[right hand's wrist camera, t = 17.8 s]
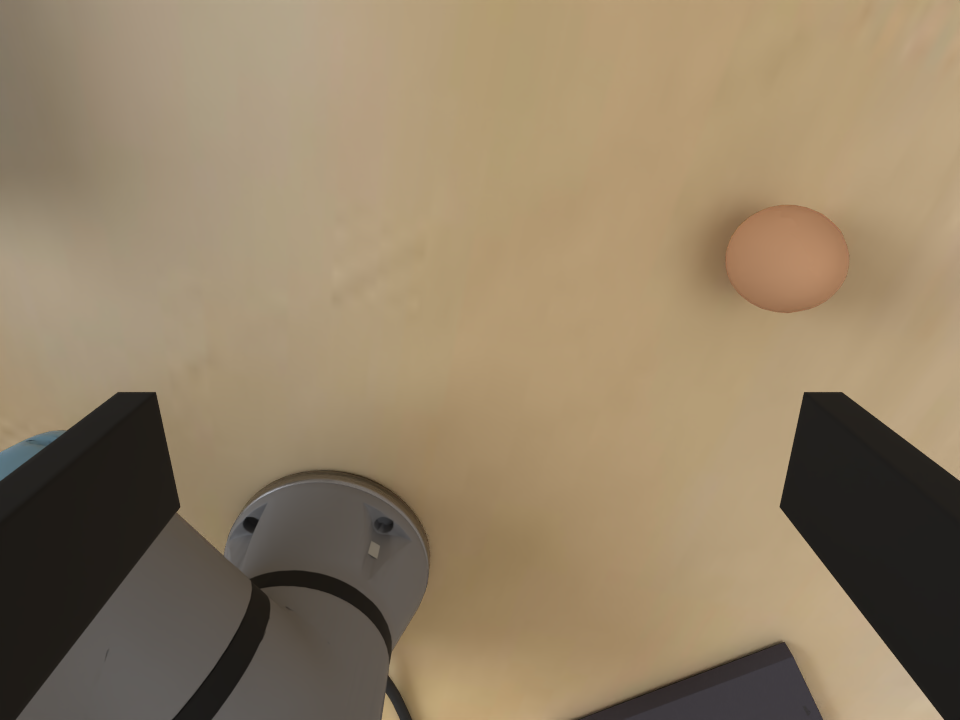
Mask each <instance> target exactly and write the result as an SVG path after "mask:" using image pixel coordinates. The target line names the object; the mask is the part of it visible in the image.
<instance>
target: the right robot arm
mask: <svg viewBox="0 0 960 720" xmlns="http://www.w3.org/2000/svg"><path fill="white" fill-rule="evenodd" d="M179 508H180V503H179V498H178V494H177V489H176V484H175V480H174V475H173V470H172V466H171V461H170V456H169V451H168V447H167V442H166V437H165V433H164V428H163V423H162V419H161V414H160V409H159V405H158V400H157V395H156V392H118V393H116V394H115V395H114V396H112V397H111V398H110V399H108V400H107V401H106V402H104V403H103V404H102V405H100V406H99V407H98V408H96V409H95V410H94V411H92V412H91V413H90V414H89V415H87V416H86V417H85V418H83V419H82V420H81V421H79V422H78V423H77V424H75V425H74V426H73V427H71V428H70V429H69V430H67V431H50V432H46V433H42V434H39V435H36V436H33V437H31V438H28V439H26V440H24V441H22V442H20V443H18V444H16V445H14V446H12V447H10V448H8V449H6V450H4V451H2V452H0V720H381V719H382V712H383V705H384V699H385V692H386V694H387V695H388V697H389V698H390V700H391V702H392V703H393V705H394V707H395V710H396V712H397V714H398V716H399V718H400V720H412V719H411V717H410V714H409V712H408V710H407V708H406V705H405V703H404V701H403V699H402V697H401V695H400V693H399V691H398V689H397V688H396V686H395V685H394V683H393V682H392V680H391V679H390V677H389V676H388V671H389V664H390V658H391V653H392V650H393V649H394V647H395V645H396V644H397V642H398V640H399V639H400V637H401V635H402V634H403V632H404V631H405V629H406V627H407V626H408V624H409V622H410V621H411V619H412V617H413V616H414V614H415V612H416V611H417V609H418V607H419V605H420V603H421V600H422V598H423V595H424V593H425V590H426V587H427V582H428V575H429V566H430V550H429V544H428V540H427V537H426V534H425V531H424V529H423V527H422V525H421V523H420V521H419V520H418V518H417V517H416V515H415V514H414V513H413V511H412V510H411V509H410V508H409V507H408V506H407V505H406V503H405V502H403V501H402V500H401V499H400V498H399V497H398V496H396V495H395V494H394V493H392V492H391V491H390V490H388V489H386V488H385V487H383V486H381V485H379V484H377V483H375V482H373V481H371V480H368V479H366V478H363V477H360V476H357V475H353V474H348V473H344V472H336V471H309V472H302V473H297V474H293V475H290V476H287V477H283V478H281V479H279V480H277V481H274V482H273V483H271V484H269V485H267V486H266V487H264V488H263V489H261V490H260V491H259V492H258V493H256V494H255V495H254V496H253V497H252V498H251V499H250V500H249V501H248V503H247V504H246V505H245V507H244V508H243V510H242V511H241V513H240V514H239V516H238V518H237V519H236V521H235V523H234V525H233V527H232V528H231V531H230V533H229V536H228V540H227V543H226V547H225V551H224V556H223V555H222V554H221V553H220V552H219V551H218V550H217V549H216V548H215V547H213V546H212V545H211V544H210V543H209V542H208V541H207V540H206V539H205V538H204V537H203V536H201V535H200V534H199V533H198V532H197V531H196V530H195V529H194V528H193V527H192V526H191V525H190V524H188V523H187V522H186V521H185V520H184V519H183V518H182V517H181V516H180V515H179V514H178V513H176V512H177V511H178V509H179ZM780 508H781V509H782V511H783V512H784V513H785V515H786V516H787V517H788V518H789V520H790V521H791V522H792V524H793V525H794V526H795V527H796V529H797V530H798V531H799V533H800V534H801V535H802V537H803V538H804V539H805V540H806V542H807V543H808V544H809V546H810V547H811V548H812V549H813V551H814V552H815V553H816V555H817V556H818V557H819V558H820V560H821V561H822V562H823V564H824V565H825V566H826V568H827V569H828V570H829V571H830V573H831V574H832V575H833V577H834V578H835V579H836V580H837V582H838V583H839V584H840V586H841V587H842V588H843V590H844V591H845V592H846V593H847V595H848V596H849V597H850V599H851V600H852V601H853V602H854V604H855V605H856V606H857V608H858V609H859V610H860V611H861V613H862V614H863V615H864V617H865V618H866V619H867V621H868V622H869V623H870V624H871V626H872V627H873V628H874V630H875V631H876V632H877V633H878V635H879V636H880V637H881V639H882V640H883V641H884V643H885V644H886V645H887V646H888V648H889V649H890V650H891V652H892V653H893V654H894V655H895V657H896V658H897V659H898V661H899V662H900V663H901V664H902V666H903V667H904V668H905V670H906V671H907V672H908V674H909V675H910V676H911V677H912V679H913V680H914V681H915V683H916V684H917V685H918V686H919V688H920V689H921V690H922V692H923V693H924V694H925V696H926V697H927V698H928V699H929V701H930V702H931V703H932V705H933V706H934V707H935V708H936V710H937V711H938V712H939V714H940V715H941V716H942V717H943V719H944V720H960V481H959V480H958V479H956V478H955V477H954V476H952V475H951V474H950V473H948V472H947V471H946V470H945V469H943V468H942V467H941V466H939V465H938V464H937V463H935V462H934V461H933V460H931V459H930V458H929V457H927V456H926V455H925V454H923V453H922V452H921V451H919V450H918V449H917V448H915V447H914V446H913V445H911V444H910V443H909V442H907V441H906V440H905V439H903V438H902V437H901V436H899V435H898V434H897V433H895V432H894V431H893V430H891V429H890V428H889V427H887V426H886V425H885V424H883V423H882V422H881V421H879V420H878V419H877V418H875V417H874V416H873V415H871V414H870V413H869V412H868V411H866V410H865V409H864V408H862V407H861V406H860V405H858V404H857V403H856V402H854V401H853V400H852V399H850V398H849V397H848V396H846V395H845V394H844V393H842V392H804V395H803V400H802V405H801V409H800V414H799V419H798V423H797V428H796V433H795V437H794V442H793V447H792V451H791V456H790V461H789V466H788V470H787V475H786V480H785V484H784V489H783V494H782V498H781V503H780Z"/></svg>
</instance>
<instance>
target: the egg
mask: <svg viewBox="0 0 960 720" xmlns="http://www.w3.org/2000/svg"><path fill="white" fill-rule="evenodd" d="M848 268H849V252H848V248H847V245H846V242H845V240H844V237H843V235H842V233H841V231H840V230H839V229H838V228H837V226H836V225H835V224H834V223H833V222H832V221H830V220H829V219H828V218H827V217H825V216H824V215H823V214H821V213H819V212H816V211H814V210H811V209H809V208H806V207H801V206H797V205H780V206H774V207H769V208H766V209H764V210H762V211H759V212H757V213H755V214H754V215H752V216H750V217H749V218H748V219H746V220H745V221H744V222H743V223H742V224H741V225H740V226H739V227H738V228H737V229H736V231H735V232H734V234H733V235H732V237H731V239H730V242H729V244H728V247H727V251H726V270H727V274H728V277H729V279H730V282H731V283H732V285H733V286H734V288H735V289H736V291H737V292H738V293H739V294H740V295H741V296H742V297H744V298H745V299H746V300H748V301H749V302H750V303H752V304H754V305H756V306H758V307H760V308H762V309H766V310H770V311H774V312H782V313H791V312H797V311H803V310H807V309H810V308H813V307H816V306H818V305H820V304H822V303H823V302H825V301H827V300H828V299H829V298H830V297H831V296H833V295H834V294H835V293H836V292H837V290H838V289H839V288H840V287H841V285H842V283H843V282H844V280H845V278H846V276H847V272H848Z"/></svg>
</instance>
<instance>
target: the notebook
mask: <svg viewBox="0 0 960 720" xmlns="http://www.w3.org/2000/svg"><path fill="white" fill-rule="evenodd" d="M579 720H823V719H822V717H821V715H820V712H819V710H818V708H817V706H816V704H815V702H814V700H813V698H812V696H811V693H810V691H809V689H808V687H807V685H806V683H805V681H804V679H803V677H802V674H801V672H800V670H799V668H798V666H797V664H796V662H795V660H794V658H793V656H792V654H791V652H790V651H789V649H788V647H787V645H786V644H785V642H783V643H781V644H778V645H775V646H773V647H770V648H767V649H765V650H762V651H759V652H757V653H754V654H751V655H749V656H746V657H743V658H741V659H738V660H735V661H733V662H730V663H728V664H725V665H722V666H720V667H717V668H714V669H712V670H709V671H706V672H704V673H701V674H698V675H696V676H693V677H690V678H688V679H685V680H682V681H680V682H677V683H674V684H672V685H669V686H667V687H664V688H661V689H659V690H656V691H653V692H651V693H648V694H645V695H643V696H640V697H637V698H635V699H632V700H629V701H627V702H624V703H621V704H619V705H616V706H613V707H611V708H608V709H606V710H603V711H600V712H598V713H595V714H592V715H590V716H587V717H584V718H582V719H579Z"/></svg>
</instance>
